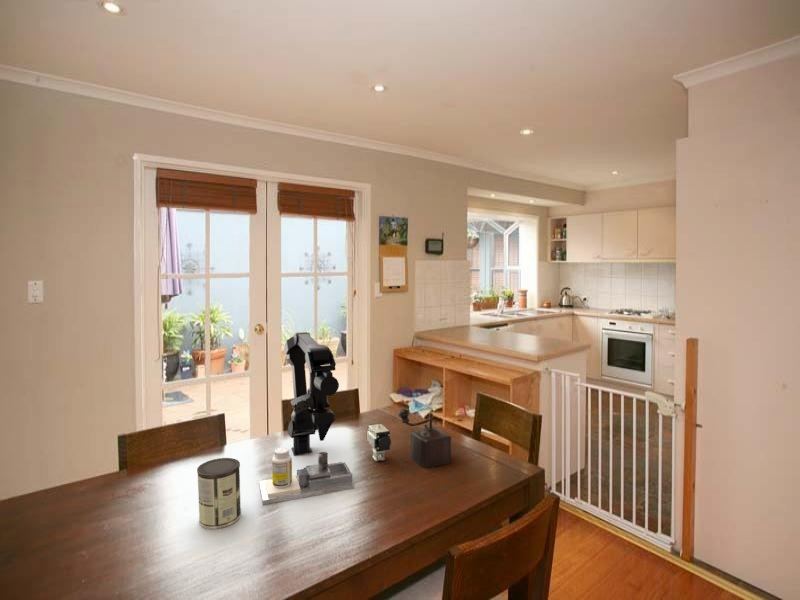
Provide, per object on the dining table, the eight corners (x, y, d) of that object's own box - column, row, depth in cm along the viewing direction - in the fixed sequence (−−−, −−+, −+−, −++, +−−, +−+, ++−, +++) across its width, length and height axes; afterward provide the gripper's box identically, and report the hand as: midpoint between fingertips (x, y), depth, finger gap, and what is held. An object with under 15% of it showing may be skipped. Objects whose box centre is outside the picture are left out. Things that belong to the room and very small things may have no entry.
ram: (296, 478, 138) (295, 453, 138) (325, 473, 142) (325, 449, 141) (299, 488, 132) (299, 461, 132) (330, 483, 136) (330, 457, 135)
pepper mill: (434, 451, 163) (435, 402, 162) (451, 463, 153) (452, 410, 152) (395, 459, 156) (395, 407, 155) (410, 472, 146) (411, 417, 145)
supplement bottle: (284, 478, 138) (283, 444, 137) (296, 483, 134) (295, 449, 133) (268, 484, 133) (267, 450, 133) (279, 490, 130) (279, 455, 129)
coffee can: (217, 505, 126) (216, 455, 125) (249, 511, 123) (248, 460, 121) (189, 525, 116) (187, 471, 115) (222, 532, 113) (221, 477, 112)
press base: (259, 485, 137) (259, 473, 137) (344, 471, 147) (343, 460, 146) (262, 504, 126) (262, 491, 126) (354, 488, 136) (354, 476, 135)
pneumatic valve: (379, 451, 163) (379, 418, 162) (391, 464, 152) (391, 429, 151) (364, 454, 160) (364, 420, 160) (375, 467, 150) (375, 431, 149)
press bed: (265, 482, 136) (265, 480, 136) (295, 477, 140) (295, 475, 140) (268, 496, 128) (267, 494, 128) (300, 491, 131) (300, 488, 131)
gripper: (288, 381, 149) (288, 427, 150) (297, 398, 131) (297, 450, 133) (322, 378, 153) (322, 423, 154) (335, 394, 136) (335, 445, 137)
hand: (318, 434), depth 145 cm, fingers open, 9 cm apart
